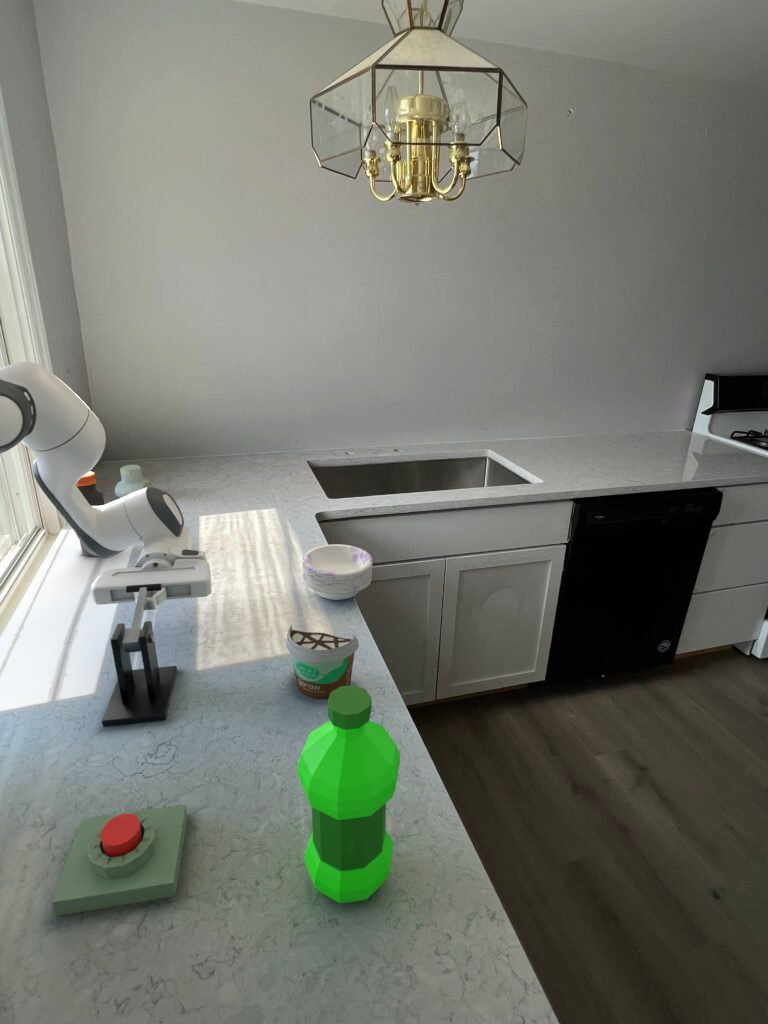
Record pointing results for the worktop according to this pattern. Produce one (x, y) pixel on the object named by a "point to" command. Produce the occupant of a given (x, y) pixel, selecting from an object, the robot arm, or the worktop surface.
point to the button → (121, 835)
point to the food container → (320, 661)
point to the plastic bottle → (349, 798)
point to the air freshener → (131, 481)
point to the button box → (123, 863)
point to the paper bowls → (337, 570)
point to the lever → (137, 616)
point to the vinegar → (90, 496)
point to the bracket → (139, 683)
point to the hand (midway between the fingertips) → (145, 606)
